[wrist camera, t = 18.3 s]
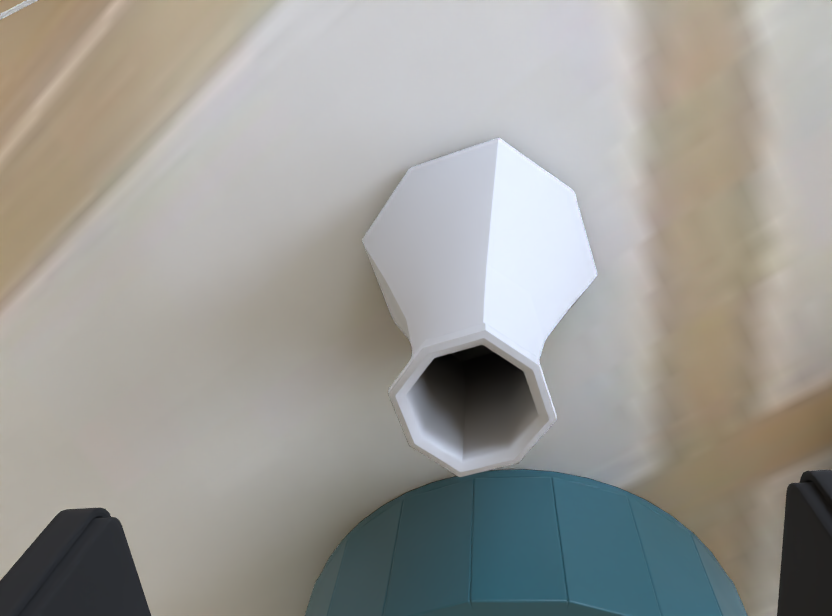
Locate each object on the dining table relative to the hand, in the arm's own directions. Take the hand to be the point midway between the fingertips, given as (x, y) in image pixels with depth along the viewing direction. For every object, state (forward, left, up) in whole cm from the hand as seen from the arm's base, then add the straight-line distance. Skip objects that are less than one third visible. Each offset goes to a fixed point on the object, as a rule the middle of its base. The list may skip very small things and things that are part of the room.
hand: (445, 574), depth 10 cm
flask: (0, 0, -15) cm, 15 cm away
